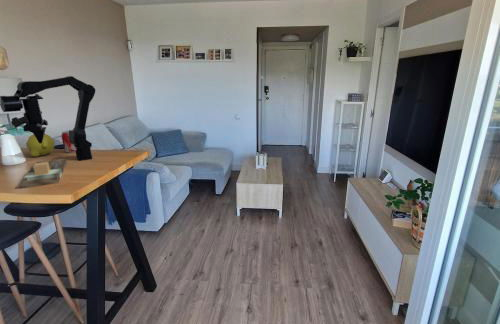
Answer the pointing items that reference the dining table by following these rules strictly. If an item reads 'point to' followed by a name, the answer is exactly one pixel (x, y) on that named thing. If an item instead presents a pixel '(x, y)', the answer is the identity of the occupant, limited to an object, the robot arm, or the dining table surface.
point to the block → (41, 168)
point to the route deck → (44, 179)
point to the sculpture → (40, 145)
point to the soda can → (67, 143)
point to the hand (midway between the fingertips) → (40, 143)
